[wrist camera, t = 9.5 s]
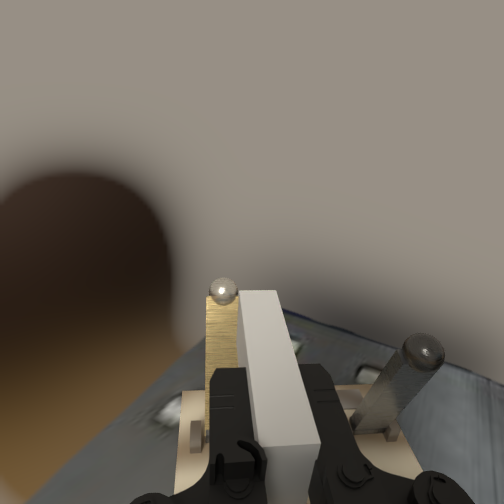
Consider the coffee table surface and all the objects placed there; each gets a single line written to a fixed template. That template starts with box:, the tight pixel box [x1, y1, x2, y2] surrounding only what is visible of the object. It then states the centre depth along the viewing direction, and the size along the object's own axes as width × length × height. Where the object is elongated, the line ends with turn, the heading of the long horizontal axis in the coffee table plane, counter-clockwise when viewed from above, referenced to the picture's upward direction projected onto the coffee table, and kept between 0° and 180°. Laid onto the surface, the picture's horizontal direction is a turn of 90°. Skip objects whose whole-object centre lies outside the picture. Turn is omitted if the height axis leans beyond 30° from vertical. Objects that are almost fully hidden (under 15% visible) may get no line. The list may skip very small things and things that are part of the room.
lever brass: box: [205, 278, 239, 443], centre depth 33 cm, size 3×3×15 cm
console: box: [174, 384, 423, 504], centre depth 34 cm, size 12×22×4 cm, turn 96°
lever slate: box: [349, 333, 445, 435], centre depth 29 cm, size 3×3×15 cm
